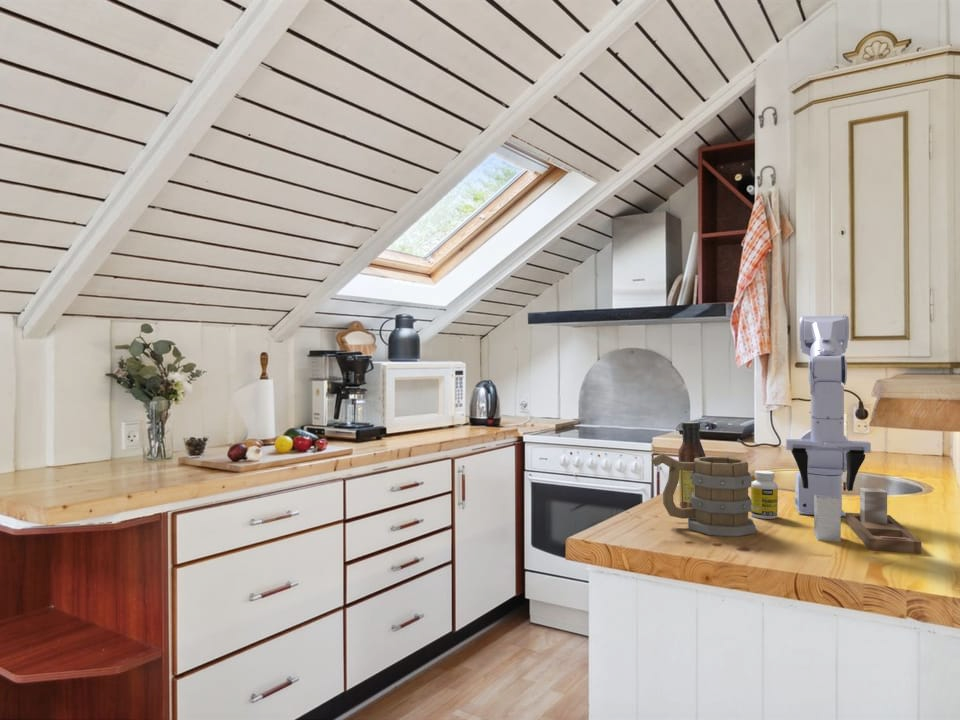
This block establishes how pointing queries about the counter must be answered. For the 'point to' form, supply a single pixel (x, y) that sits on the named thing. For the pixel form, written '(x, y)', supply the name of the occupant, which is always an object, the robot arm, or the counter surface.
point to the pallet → (880, 525)
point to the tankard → (712, 495)
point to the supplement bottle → (764, 495)
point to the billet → (827, 517)
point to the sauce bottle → (688, 460)
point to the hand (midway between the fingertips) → (827, 488)
